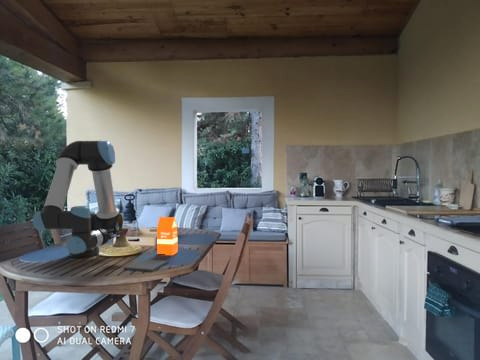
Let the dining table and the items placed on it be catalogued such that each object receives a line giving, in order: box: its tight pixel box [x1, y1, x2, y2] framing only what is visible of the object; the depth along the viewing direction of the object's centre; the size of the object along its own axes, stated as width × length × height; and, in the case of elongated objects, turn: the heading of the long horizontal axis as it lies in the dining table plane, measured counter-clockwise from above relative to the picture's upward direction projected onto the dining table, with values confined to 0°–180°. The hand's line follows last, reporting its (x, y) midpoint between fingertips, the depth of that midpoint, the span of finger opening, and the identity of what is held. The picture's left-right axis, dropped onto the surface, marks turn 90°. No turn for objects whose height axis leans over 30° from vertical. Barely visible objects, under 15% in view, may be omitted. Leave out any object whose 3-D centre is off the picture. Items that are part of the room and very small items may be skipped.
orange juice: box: [156, 216, 179, 256], centre depth 197 cm, size 8×9×20 cm
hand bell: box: [112, 214, 131, 248], centre depth 179 cm, size 8×8×16 cm
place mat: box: [123, 258, 169, 273], centre depth 173 cm, size 15×15×1 cm
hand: (127, 228), depth 185 cm, fingers closed on hand bell, 2 cm apart
